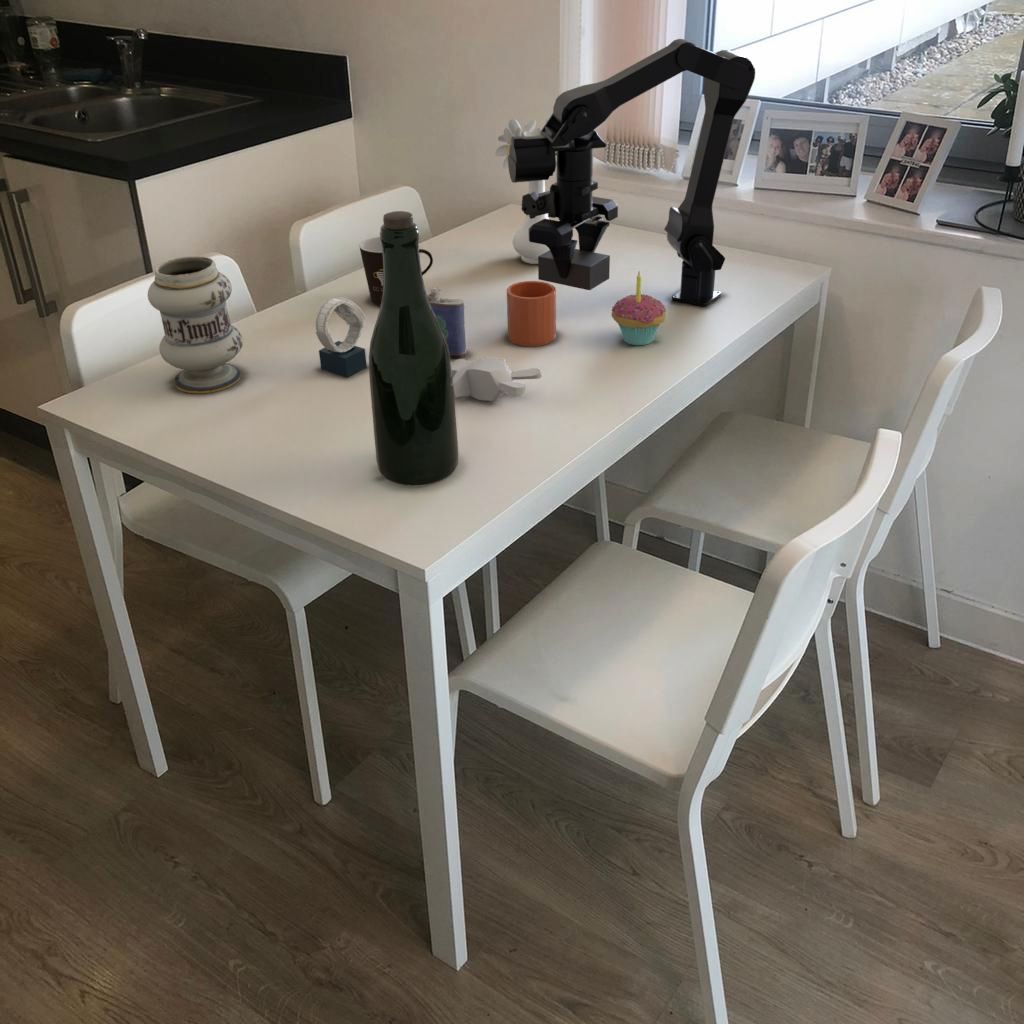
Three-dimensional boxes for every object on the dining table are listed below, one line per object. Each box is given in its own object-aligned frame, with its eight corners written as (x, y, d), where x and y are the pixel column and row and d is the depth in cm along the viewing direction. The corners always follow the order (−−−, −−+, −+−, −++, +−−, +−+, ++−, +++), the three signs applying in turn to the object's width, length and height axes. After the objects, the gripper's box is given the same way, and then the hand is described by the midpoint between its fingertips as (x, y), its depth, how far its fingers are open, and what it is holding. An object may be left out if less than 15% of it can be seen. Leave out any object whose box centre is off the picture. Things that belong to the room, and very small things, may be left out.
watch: (375, 362, 166) (368, 295, 160) (339, 381, 161) (330, 312, 155) (348, 354, 169) (341, 288, 163) (312, 373, 164) (303, 304, 158)
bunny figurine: (453, 348, 160) (544, 353, 154) (459, 380, 163) (548, 386, 156) (422, 373, 153) (516, 379, 146) (428, 405, 156) (520, 413, 149)
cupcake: (661, 351, 167) (666, 277, 161) (607, 348, 169) (609, 275, 162) (666, 330, 174) (670, 258, 168) (614, 327, 176) (616, 256, 169)
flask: (469, 353, 168) (465, 288, 163) (461, 360, 166) (457, 294, 160) (416, 346, 171) (410, 281, 166) (407, 353, 169) (402, 288, 163)
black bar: (558, 268, 184) (558, 245, 182) (609, 278, 179) (610, 255, 177) (538, 279, 179) (537, 256, 177) (589, 290, 175) (589, 266, 172)
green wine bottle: (396, 444, 144) (372, 197, 126) (470, 453, 141) (457, 203, 123) (364, 483, 135) (335, 224, 118) (443, 493, 133) (424, 231, 115)
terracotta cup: (525, 324, 178) (524, 277, 174) (564, 333, 174) (564, 286, 170) (498, 340, 172) (497, 292, 168) (538, 350, 169) (538, 302, 164)
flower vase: (566, 277, 196) (567, 136, 182) (482, 261, 204) (477, 125, 191) (600, 256, 205) (603, 120, 192) (518, 241, 213) (516, 110, 200)
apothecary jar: (161, 371, 165) (136, 258, 156) (239, 357, 169) (220, 245, 159) (173, 403, 156) (147, 284, 146) (255, 387, 160) (236, 270, 150)
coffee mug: (355, 305, 187) (350, 249, 181) (379, 288, 193) (374, 234, 188) (415, 313, 183) (411, 256, 177) (437, 296, 190) (434, 240, 184)
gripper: (562, 157, 181) (562, 248, 189) (499, 184, 168) (502, 280, 176) (620, 165, 175) (618, 258, 183) (559, 194, 162) (559, 292, 171)
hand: (574, 271), depth 179 cm, fingers closed on black bar, 6 cm apart
